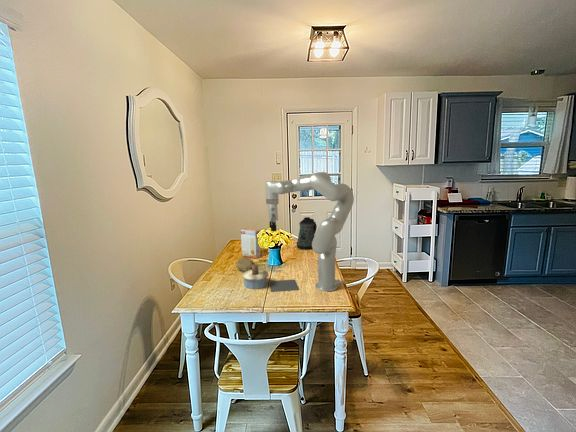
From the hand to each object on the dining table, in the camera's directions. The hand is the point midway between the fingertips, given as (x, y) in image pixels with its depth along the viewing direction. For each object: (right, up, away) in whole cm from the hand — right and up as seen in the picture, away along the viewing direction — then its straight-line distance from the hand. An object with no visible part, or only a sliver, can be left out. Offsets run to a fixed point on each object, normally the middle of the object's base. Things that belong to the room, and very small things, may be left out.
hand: (272, 229), depth 191 cm
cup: (-10, -32, -8) cm, 35 cm away
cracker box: (-19, -23, +47) cm, 56 cm away
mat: (+7, -32, -10) cm, 34 cm away
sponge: (-19, -28, +20) cm, 40 cm away
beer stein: (+25, -18, +72) cm, 79 cm away
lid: (-10, -26, -9) cm, 30 cm away
